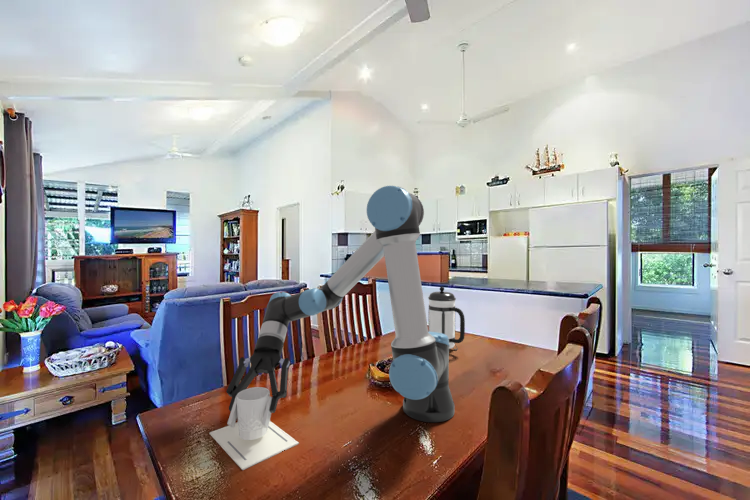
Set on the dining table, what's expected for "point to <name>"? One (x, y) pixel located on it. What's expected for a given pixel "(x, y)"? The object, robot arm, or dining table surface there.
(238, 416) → the white cup
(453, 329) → the coffee press
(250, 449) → the paper sheet
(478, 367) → the dining table surface
